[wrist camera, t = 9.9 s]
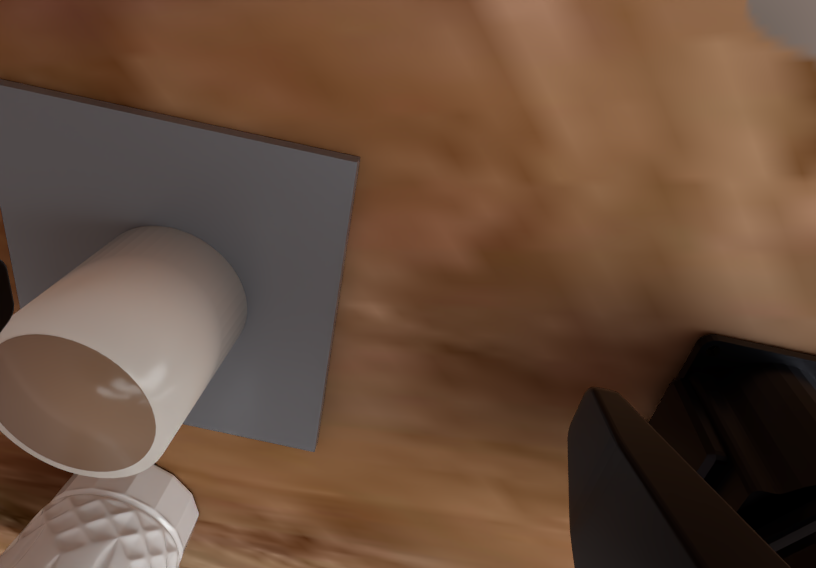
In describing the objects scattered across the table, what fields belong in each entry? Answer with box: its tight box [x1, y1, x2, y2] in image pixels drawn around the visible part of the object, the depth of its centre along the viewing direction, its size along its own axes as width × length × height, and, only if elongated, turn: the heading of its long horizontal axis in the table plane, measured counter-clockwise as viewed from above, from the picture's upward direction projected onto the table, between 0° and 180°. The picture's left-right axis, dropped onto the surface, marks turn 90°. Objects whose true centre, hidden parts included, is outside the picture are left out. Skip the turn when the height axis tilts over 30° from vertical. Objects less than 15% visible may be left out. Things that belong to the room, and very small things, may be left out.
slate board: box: [0, 79, 360, 452], centre depth 23 cm, size 13×14×1 cm
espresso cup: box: [0, 226, 247, 478], centre depth 20 cm, size 6×8×7 cm
